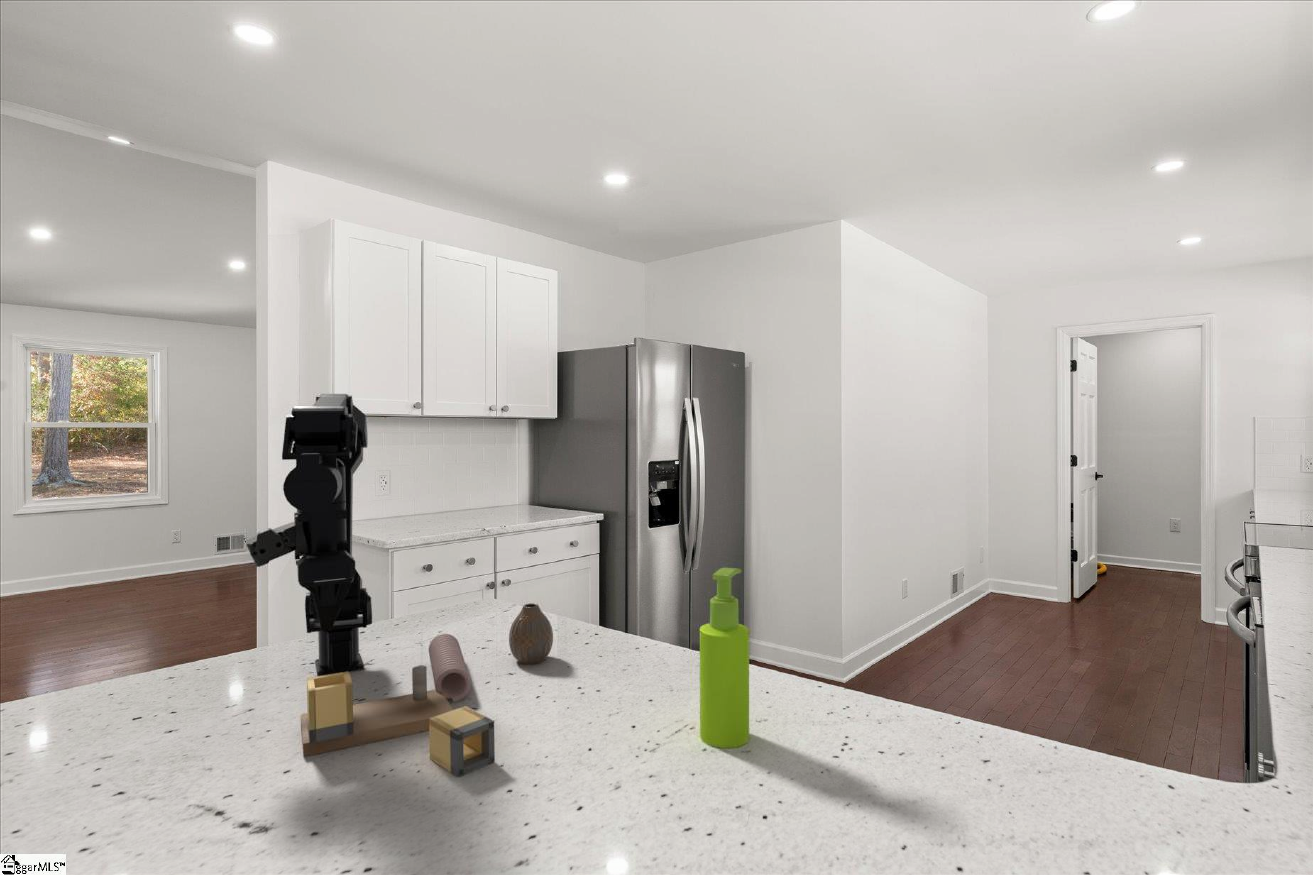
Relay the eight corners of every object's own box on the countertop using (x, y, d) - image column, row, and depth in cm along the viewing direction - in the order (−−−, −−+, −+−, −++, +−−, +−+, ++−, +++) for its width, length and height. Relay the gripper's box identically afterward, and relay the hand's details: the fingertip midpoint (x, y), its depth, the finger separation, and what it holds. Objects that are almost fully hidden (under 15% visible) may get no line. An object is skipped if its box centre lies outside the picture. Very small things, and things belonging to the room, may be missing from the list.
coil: (472, 668, 95) (460, 631, 112) (437, 669, 94) (429, 632, 110) (469, 702, 95) (457, 661, 112) (434, 704, 94) (426, 661, 110)
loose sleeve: (349, 719, 86) (348, 671, 86) (353, 734, 82) (352, 683, 82) (307, 727, 84) (306, 678, 83) (309, 743, 80) (308, 691, 79)
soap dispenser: (757, 727, 86) (757, 566, 86) (740, 752, 80) (739, 578, 80) (713, 719, 89) (712, 563, 88) (692, 742, 83) (692, 574, 82)
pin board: (300, 726, 87) (299, 682, 87) (440, 699, 96) (439, 659, 95) (303, 756, 80) (302, 708, 79) (455, 724, 88) (454, 681, 88)
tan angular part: (457, 734, 75) (429, 718, 79) (458, 777, 75) (429, 758, 79) (494, 720, 78) (465, 705, 82) (494, 761, 78) (465, 744, 82)
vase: (560, 655, 113) (560, 601, 113) (540, 669, 107) (539, 612, 107) (523, 650, 116) (522, 598, 115) (500, 664, 109) (500, 608, 109)
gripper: (252, 499, 95) (254, 612, 95) (247, 515, 79) (250, 652, 79) (341, 494, 100) (343, 602, 101) (354, 508, 84) (357, 637, 84)
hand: (323, 621), depth 91 cm, fingers open, 9 cm apart
